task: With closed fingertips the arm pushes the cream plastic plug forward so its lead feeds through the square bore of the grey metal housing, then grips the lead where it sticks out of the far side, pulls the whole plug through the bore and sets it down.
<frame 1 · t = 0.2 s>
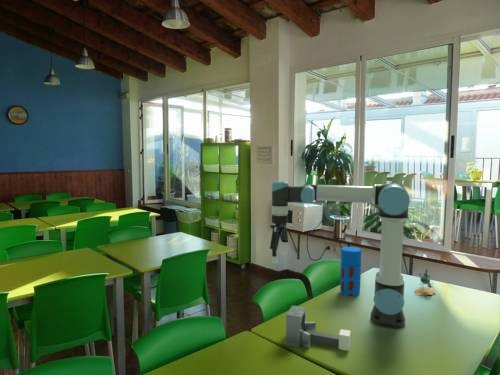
hand: (279, 259, 175), 28 cm above the table, fingers open, 13 cm apart
frog figurine: (425, 293, 209), on the table
housing: (295, 337, 156), on the table
plug: (344, 346, 149), on the table
thermos: (349, 293, 208), on the table
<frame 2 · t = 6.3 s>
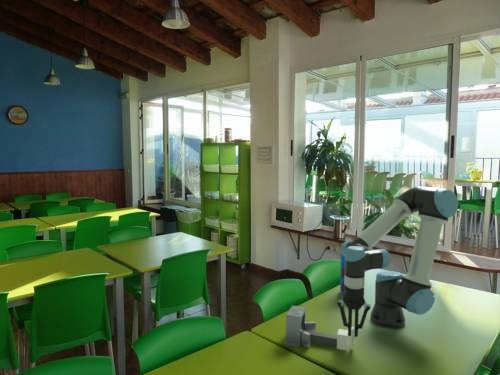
hand: (352, 343, 148), 2 cm above the table, fingers closed
plug: (342, 346, 150), on the table, touching gripper
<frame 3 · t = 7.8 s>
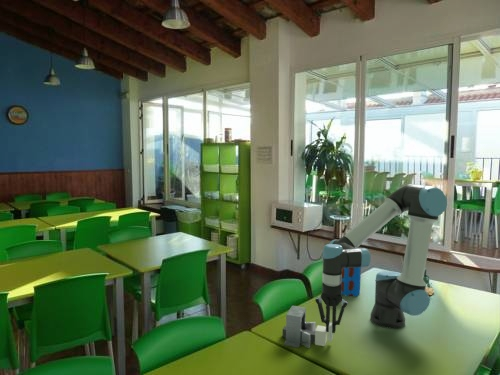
hand: (330, 339, 151), 2 cm above the table, fingers closed
plug: (320, 342, 153), on the table, touching gripper
everything else where it was.
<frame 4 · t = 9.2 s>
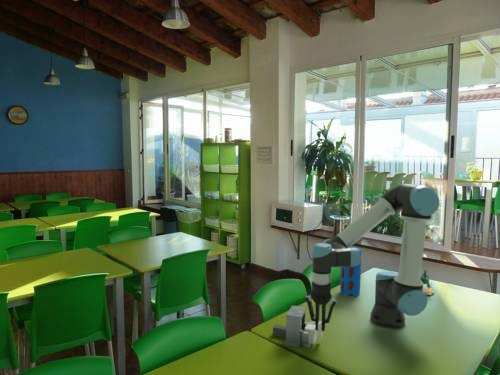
hand: (320, 337, 152), 2 cm above the table, fingers closed
plug: (310, 340, 154), on the table, touching gripper
everything else where it was.
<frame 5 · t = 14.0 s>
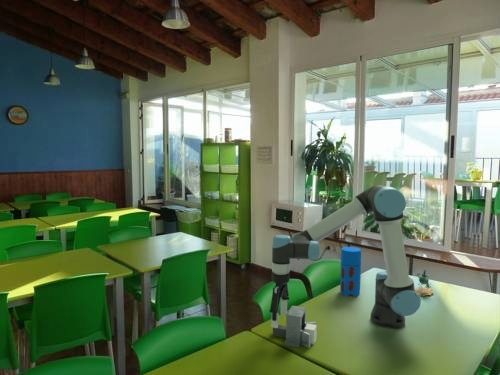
hand: (279, 320, 158), 6 cm above the table, fingers open, 13 cm apart
plug: (310, 340, 154), on the table
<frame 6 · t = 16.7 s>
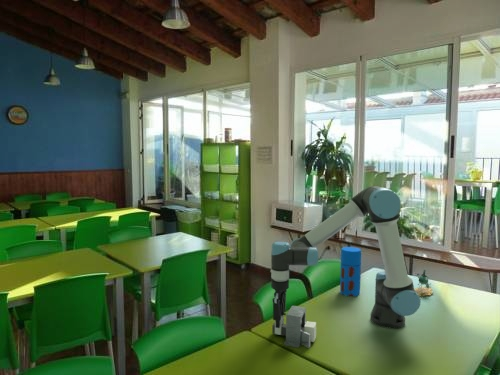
hand: (279, 332, 159), 1 cm above the table, fingers closed on plug, 3 cm apart
plug: (310, 338, 154), point 1 cm above the table, touching gripper
when the fingers open (0 cm above the table, at t = 19.8 s): plug stays where it is, on the table.
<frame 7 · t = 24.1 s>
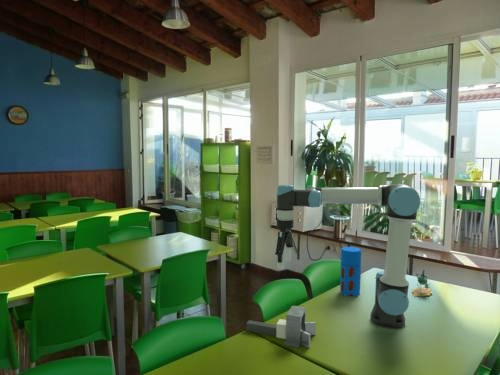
hand: (284, 265, 169), 27 cm above the table, fingers open, 13 cm apart
plug: (282, 335, 158), on the table
at the end: plug inside the target area (4.2 cm from its centre), on the table; the gripper is holding nothing; plug tilted 0° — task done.
